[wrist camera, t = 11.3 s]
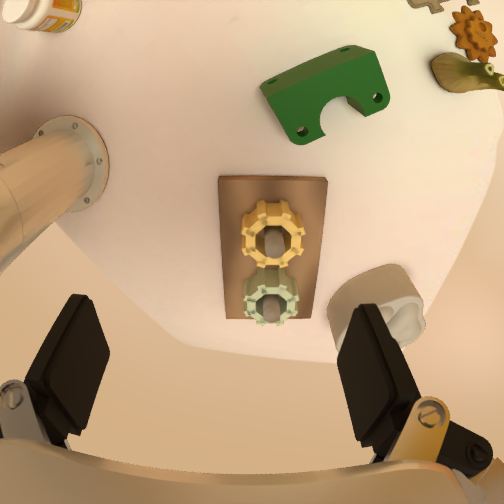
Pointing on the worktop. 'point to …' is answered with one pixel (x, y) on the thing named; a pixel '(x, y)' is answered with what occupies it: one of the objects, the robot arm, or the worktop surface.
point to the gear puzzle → (467, 29)
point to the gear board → (232, 237)
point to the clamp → (326, 90)
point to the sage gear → (270, 284)
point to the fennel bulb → (465, 74)
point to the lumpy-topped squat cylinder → (380, 303)
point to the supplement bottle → (42, 14)
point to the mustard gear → (272, 216)
